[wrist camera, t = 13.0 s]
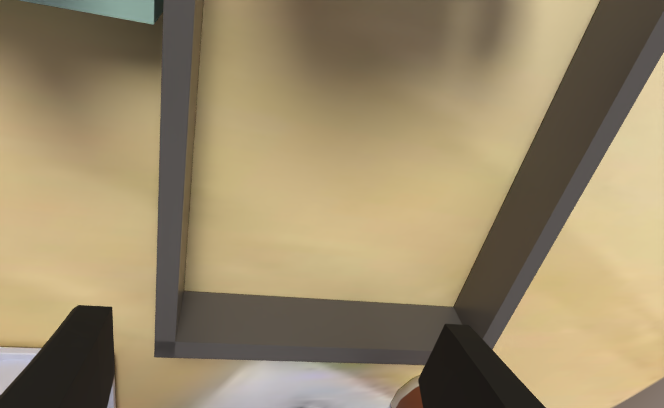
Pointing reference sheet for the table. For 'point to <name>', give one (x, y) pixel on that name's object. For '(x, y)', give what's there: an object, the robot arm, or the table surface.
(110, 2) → the square box
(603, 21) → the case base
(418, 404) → the coffee cup
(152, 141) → the table surface
